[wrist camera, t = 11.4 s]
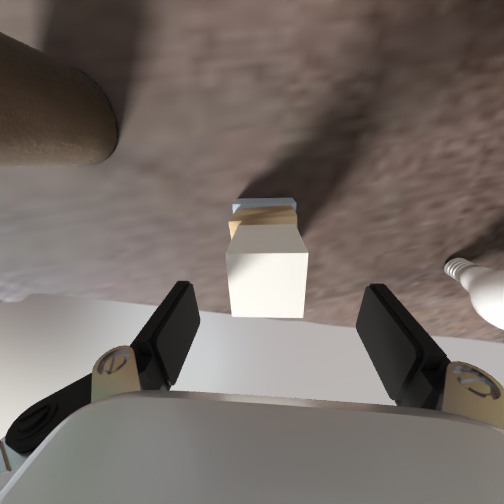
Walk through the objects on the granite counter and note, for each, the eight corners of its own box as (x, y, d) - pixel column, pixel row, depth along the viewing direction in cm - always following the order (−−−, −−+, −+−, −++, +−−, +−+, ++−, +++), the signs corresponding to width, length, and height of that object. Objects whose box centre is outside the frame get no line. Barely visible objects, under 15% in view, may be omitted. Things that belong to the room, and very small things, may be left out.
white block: (295, 224, 17) (308, 253, 12) (292, 273, 19) (302, 317, 14) (238, 225, 17) (225, 253, 12) (241, 273, 19) (232, 316, 14)
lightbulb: (415, 266, 27) (501, 327, 17) (461, 233, 25) (592, 281, 15) (442, 291, 29) (536, 360, 19) (488, 261, 26) (624, 323, 16)
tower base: (292, 197, 25) (296, 203, 21) (289, 247, 28) (292, 260, 24) (237, 198, 25) (232, 204, 22) (240, 247, 28) (236, 260, 25)
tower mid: (290, 204, 21) (297, 215, 17) (291, 253, 24) (297, 275, 19) (236, 209, 22) (228, 221, 17) (243, 257, 24) (237, 278, 20)
